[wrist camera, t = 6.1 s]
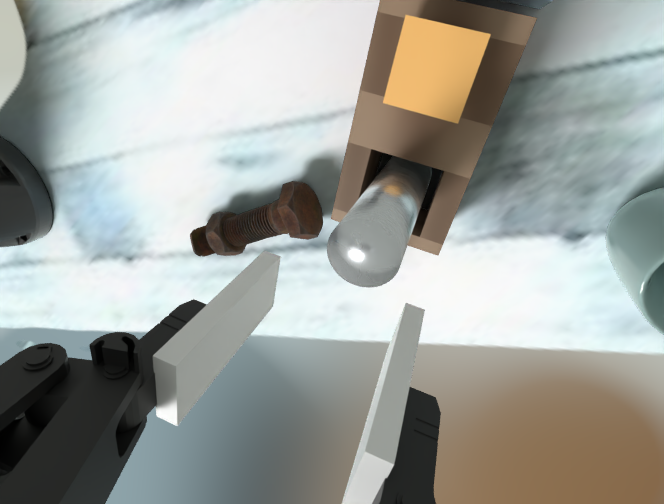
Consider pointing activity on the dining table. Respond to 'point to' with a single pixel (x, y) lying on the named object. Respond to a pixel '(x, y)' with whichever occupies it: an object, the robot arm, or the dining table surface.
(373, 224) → the brushed steel rod
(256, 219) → the bolt
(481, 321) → the dining table surface
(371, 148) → the socket block
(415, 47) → the release button
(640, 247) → the cup
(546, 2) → the block
